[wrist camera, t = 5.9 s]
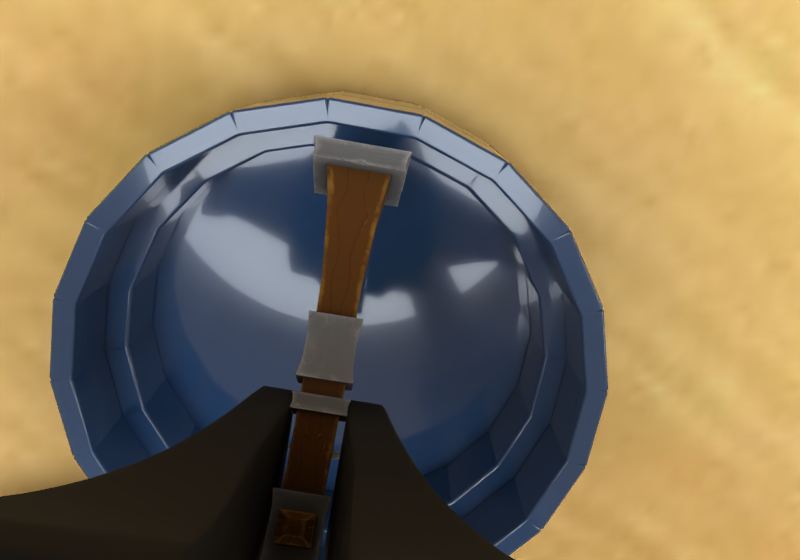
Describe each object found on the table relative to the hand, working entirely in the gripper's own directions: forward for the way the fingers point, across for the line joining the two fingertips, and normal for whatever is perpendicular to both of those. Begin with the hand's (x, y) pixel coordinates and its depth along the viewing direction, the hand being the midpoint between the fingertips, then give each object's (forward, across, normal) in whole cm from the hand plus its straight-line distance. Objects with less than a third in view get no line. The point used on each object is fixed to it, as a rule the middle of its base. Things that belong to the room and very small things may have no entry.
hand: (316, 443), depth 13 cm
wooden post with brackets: (+2, 0, -1) cm, 3 cm away
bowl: (+6, 0, 0) cm, 6 cm away
